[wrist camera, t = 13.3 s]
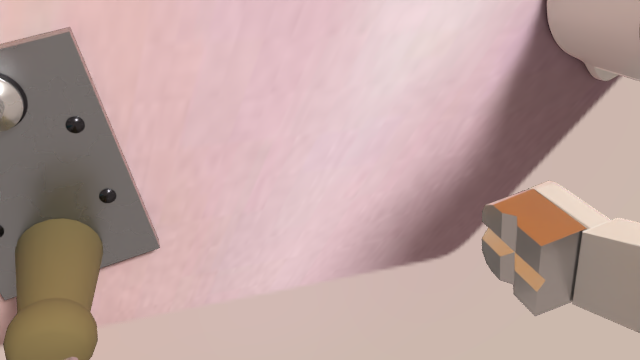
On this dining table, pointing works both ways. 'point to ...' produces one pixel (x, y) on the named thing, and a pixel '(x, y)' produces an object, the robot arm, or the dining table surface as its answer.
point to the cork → (55, 292)
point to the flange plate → (63, 156)
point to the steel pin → (9, 105)
